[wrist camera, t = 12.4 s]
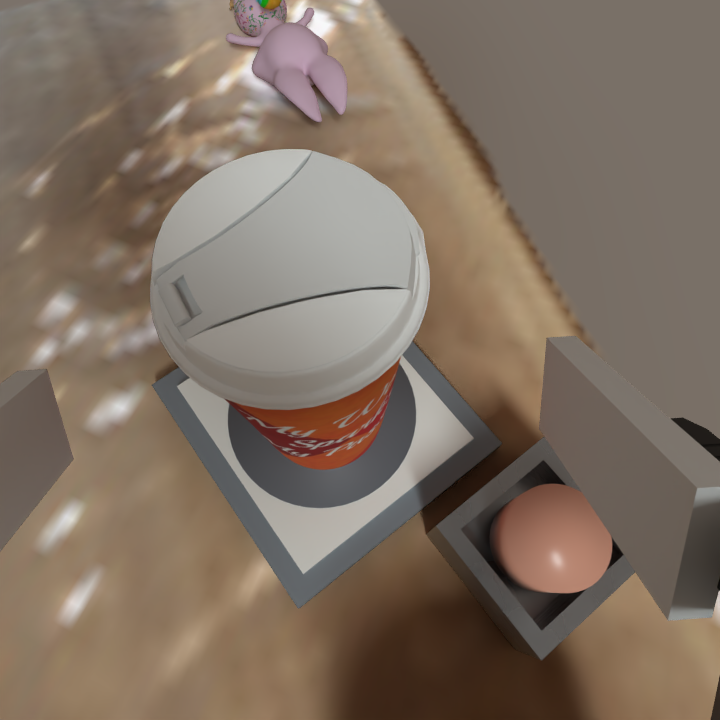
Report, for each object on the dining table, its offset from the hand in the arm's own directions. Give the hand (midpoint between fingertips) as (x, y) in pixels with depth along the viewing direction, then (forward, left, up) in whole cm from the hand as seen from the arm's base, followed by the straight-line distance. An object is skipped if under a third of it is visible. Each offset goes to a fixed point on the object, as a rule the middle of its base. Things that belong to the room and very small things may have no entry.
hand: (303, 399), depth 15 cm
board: (-3, +2, -13) cm, 13 cm away
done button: (+8, +5, -10) cm, 14 cm away
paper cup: (-3, +2, -12) cm, 13 cm away
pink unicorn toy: (-24, +14, -13) cm, 31 cm away
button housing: (+8, +5, -13) cm, 16 cm away
